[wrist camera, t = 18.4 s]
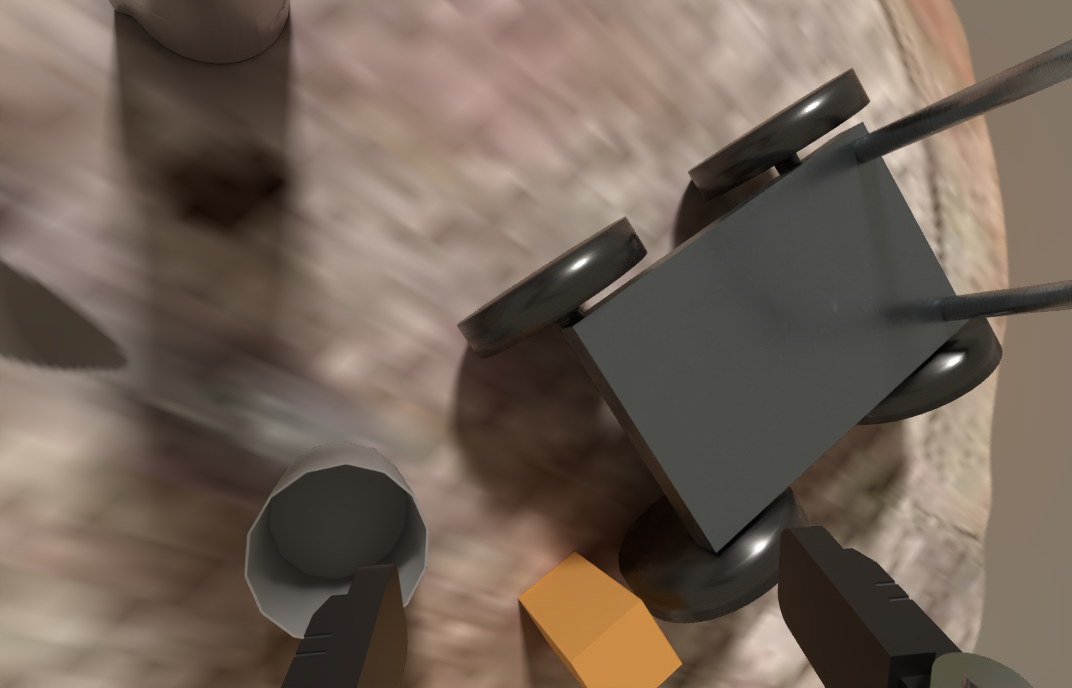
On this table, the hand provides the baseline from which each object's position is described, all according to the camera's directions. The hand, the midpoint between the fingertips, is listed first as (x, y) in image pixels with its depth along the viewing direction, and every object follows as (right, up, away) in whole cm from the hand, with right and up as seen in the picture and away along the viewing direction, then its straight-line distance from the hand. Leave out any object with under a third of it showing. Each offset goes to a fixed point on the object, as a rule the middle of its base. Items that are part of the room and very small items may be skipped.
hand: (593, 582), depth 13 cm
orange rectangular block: (+1, -13, +30) cm, 33 cm away
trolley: (+11, +6, +34) cm, 36 cm away
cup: (-14, -6, +26) cm, 30 cm away
